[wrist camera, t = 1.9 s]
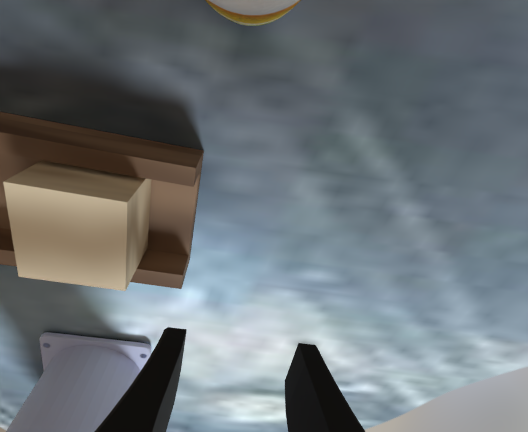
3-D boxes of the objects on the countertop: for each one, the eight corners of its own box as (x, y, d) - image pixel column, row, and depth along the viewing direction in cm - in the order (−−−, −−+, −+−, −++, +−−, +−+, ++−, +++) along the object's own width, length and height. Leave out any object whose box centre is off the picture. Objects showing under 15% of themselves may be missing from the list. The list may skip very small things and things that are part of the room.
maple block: (147, 247, 20) (125, 290, 16) (61, 234, 19) (18, 276, 16) (151, 171, 18) (127, 202, 14) (54, 153, 17) (3, 181, 14)
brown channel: (189, 259, 22) (181, 288, 19) (-113, 214, 20) (-169, 241, 17) (203, 150, 19) (195, 168, 16) (-159, 81, 16) (-239, 88, 14)
